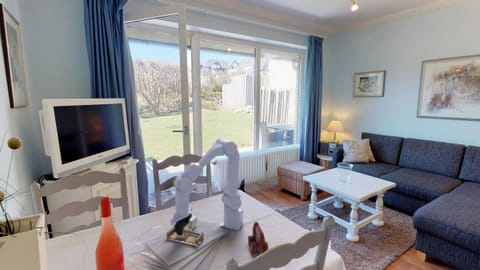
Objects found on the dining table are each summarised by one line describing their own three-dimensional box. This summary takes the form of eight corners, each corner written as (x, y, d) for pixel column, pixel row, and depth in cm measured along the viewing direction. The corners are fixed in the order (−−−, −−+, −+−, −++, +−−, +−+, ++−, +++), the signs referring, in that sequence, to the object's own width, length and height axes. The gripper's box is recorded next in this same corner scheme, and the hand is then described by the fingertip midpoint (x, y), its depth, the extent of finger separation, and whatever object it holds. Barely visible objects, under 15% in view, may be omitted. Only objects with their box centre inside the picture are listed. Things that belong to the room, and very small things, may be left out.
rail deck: (203, 238, 103) (203, 232, 103) (197, 246, 98) (197, 240, 97) (174, 231, 108) (174, 225, 107) (166, 239, 102) (166, 232, 101)
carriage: (188, 235, 103) (189, 224, 102) (184, 239, 100) (184, 228, 99) (179, 233, 104) (180, 222, 103) (175, 237, 101) (175, 226, 100)
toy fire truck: (261, 238, 106) (262, 217, 104) (269, 256, 94) (270, 233, 92) (246, 239, 104) (247, 218, 103) (252, 258, 92) (254, 234, 91)
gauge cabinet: (196, 225, 114) (196, 216, 113) (191, 231, 109) (191, 221, 108) (184, 222, 116) (184, 213, 115) (178, 228, 111) (178, 218, 110)
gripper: (182, 195, 108) (182, 222, 110) (164, 209, 94) (164, 239, 96) (196, 197, 106) (196, 225, 108) (179, 212, 92) (179, 243, 94)
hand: (182, 232), depth 102 cm, fingers closed on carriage, 4 cm apart
